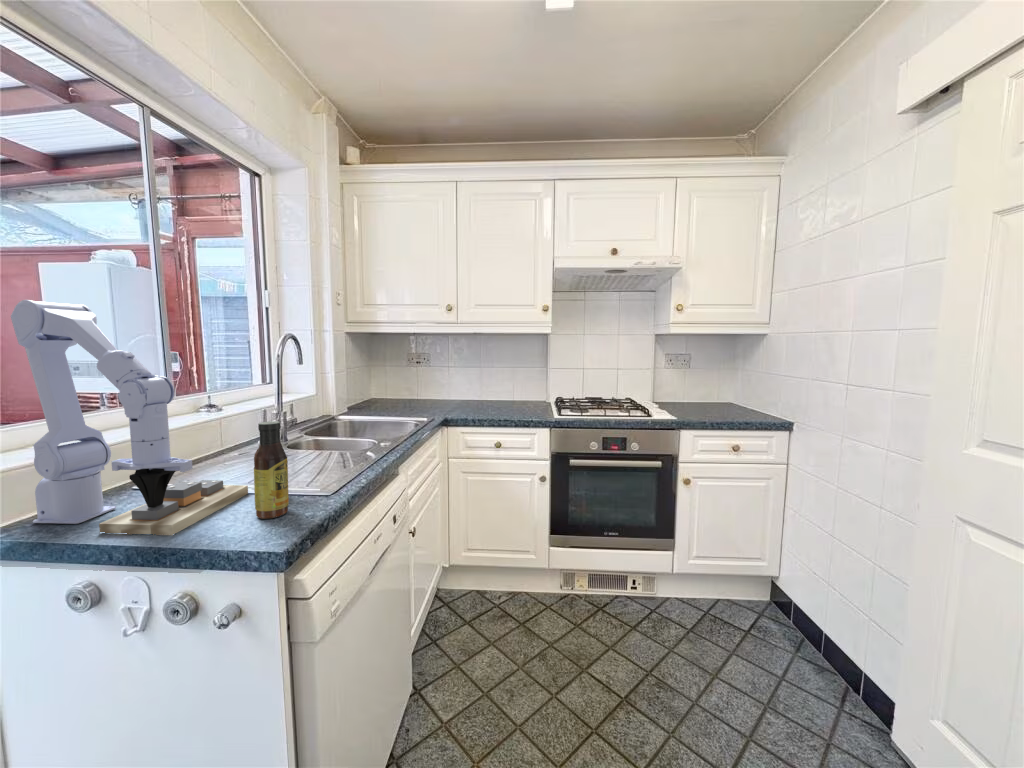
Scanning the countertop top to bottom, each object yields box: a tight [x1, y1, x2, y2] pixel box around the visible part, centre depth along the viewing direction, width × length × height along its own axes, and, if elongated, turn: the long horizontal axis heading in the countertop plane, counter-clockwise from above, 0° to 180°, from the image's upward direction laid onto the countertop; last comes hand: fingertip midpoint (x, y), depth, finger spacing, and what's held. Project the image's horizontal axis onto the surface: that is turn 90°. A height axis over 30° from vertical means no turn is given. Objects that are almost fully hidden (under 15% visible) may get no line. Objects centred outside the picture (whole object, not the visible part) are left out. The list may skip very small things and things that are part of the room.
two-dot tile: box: [163, 481, 202, 507], centre depth 89 cm, size 5×5×4 cm
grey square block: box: [131, 501, 179, 521], centre depth 83 cm, size 5×5×4 cm
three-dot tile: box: [198, 479, 224, 496], centre depth 96 cm, size 5×5×4 cm
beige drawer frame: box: [98, 484, 249, 536], centre depth 89 cm, size 14×22×2 cm, turn 179°
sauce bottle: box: [253, 420, 290, 520], centre depth 88 cm, size 6×6×20 cm
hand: (155, 505), depth 83 cm, fingers closed, pressing on grey square block
